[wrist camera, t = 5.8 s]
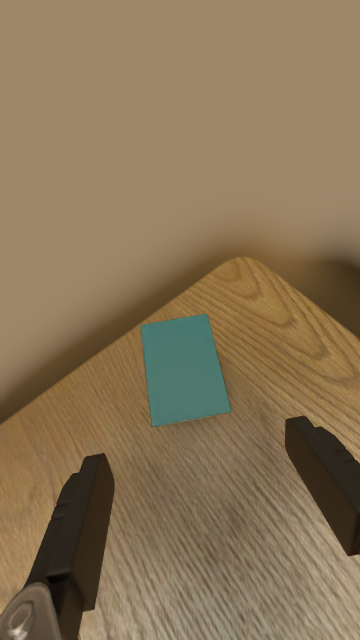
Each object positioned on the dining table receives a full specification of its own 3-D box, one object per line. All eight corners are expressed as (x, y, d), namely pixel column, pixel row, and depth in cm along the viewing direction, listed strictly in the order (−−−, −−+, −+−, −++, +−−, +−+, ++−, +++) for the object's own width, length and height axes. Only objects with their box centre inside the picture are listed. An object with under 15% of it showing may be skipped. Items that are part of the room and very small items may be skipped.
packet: (166, 425, 18) (151, 427, 11) (157, 358, 20) (139, 324, 13) (215, 415, 18) (232, 412, 11) (201, 351, 21) (207, 312, 13)
